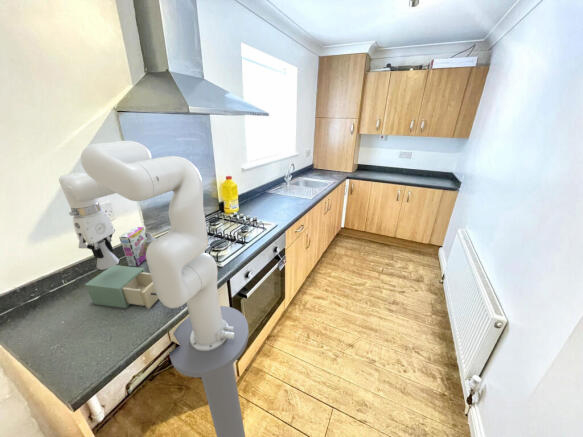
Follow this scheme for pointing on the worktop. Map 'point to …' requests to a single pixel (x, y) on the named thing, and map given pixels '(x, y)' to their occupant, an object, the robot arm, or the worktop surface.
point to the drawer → (140, 291)
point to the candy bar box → (134, 246)
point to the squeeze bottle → (148, 241)
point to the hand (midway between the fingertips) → (104, 254)
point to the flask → (106, 257)
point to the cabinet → (112, 285)
